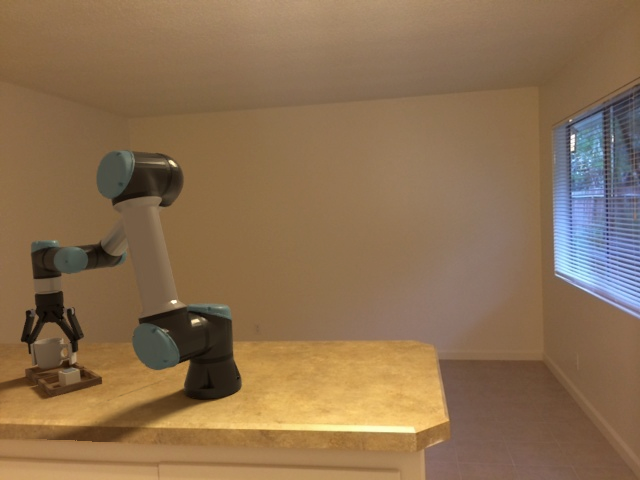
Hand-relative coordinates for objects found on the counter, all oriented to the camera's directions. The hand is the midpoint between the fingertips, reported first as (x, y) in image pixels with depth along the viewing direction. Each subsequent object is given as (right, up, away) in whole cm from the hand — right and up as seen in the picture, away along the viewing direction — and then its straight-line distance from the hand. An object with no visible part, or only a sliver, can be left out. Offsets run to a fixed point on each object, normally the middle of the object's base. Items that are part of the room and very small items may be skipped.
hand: (54, 363), depth 150 cm
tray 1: (0, -4, 0) cm, 4 cm away
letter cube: (+10, -3, -10) cm, 14 cm away
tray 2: (+10, -4, -10) cm, 14 cm away
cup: (0, -1, 0) cm, 1 cm away
